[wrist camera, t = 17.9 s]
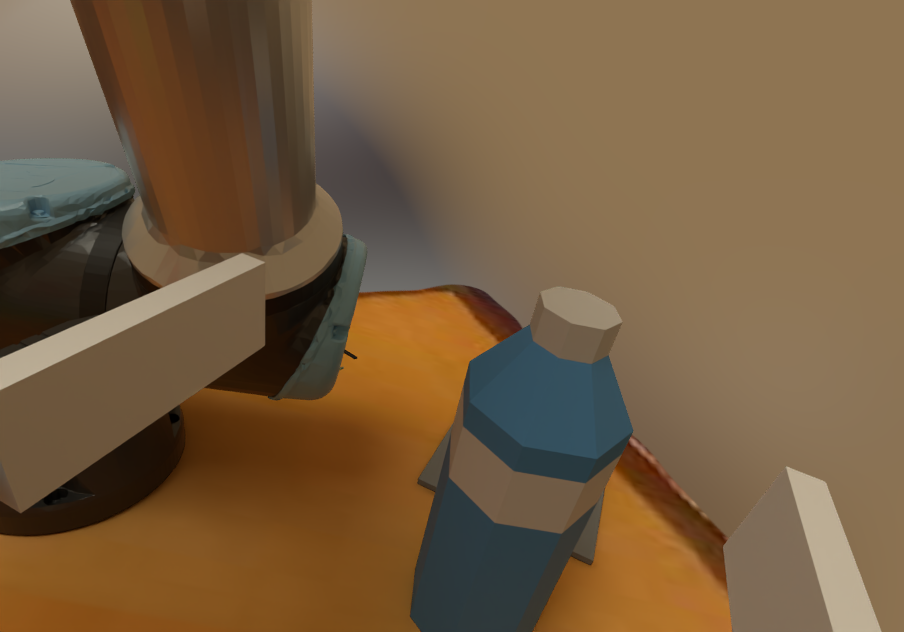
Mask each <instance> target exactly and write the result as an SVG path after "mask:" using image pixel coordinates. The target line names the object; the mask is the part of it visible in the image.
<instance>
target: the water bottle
mask: <svg viewBox="0 0 904 632" xmlns="http://www.w3.org/2000/svg"><path fill="white" fill-rule="evenodd" d="M621 325H622V320H621V318H620V316H619V315H618V313H617V311H616V309H615V307H614V306H613V305H611V304H609V303H607V302H605V301H604V300H602V299H600V298H598V297H596V296H594V295H593V294H591V293H589V292H585V291H580V290H575V289H570V288H565V287H560V286H558V287H555V288H551V289H548V290H545V291H542V292H540V295H539V298H538V301H537V304H536V307H535V310H534V313H533V316H532V319H531V323H530V325H528V326H527V327H525V328H523V329H522V330H520V331H518V332H517V333H515V334H514V335H512V336H510V337H509V338H507V339H505V340H504V341H502V342H500V343H499V344H497V345H496V346H494V347H492V348H491V349H489V350H487V351H486V352H484V353H482V354H481V355H479V356H478V357H476V358H474V359H473V360H471V361H470V362H469V366H468V370H467V374H466V378H465V381H464V385H463V389H462V393H461V397H460V400H459V404H458V408H457V412H456V416H455V420H454V423H453V427H452V431H451V435H450V439H449V442H448V446H447V450H446V454H445V458H444V461H443V465H442V469H441V473H440V477H439V480H438V484H437V488H436V492H435V496H434V499H433V503H432V507H431V511H430V515H429V518H428V522H427V526H426V530H425V534H424V537H423V541H422V545H421V549H420V553H419V556H418V560H417V564H416V568H415V576H414V586H413V595H412V605H411V614H410V617H411V618H412V620H413V621H414V622H415V624H416V625H417V626H418V628H419V629H420V630H421V632H532V631H533V629H534V627H535V625H536V623H537V621H538V619H539V617H540V615H541V613H542V611H543V609H544V607H545V605H546V603H547V601H548V599H549V597H550V595H551V593H552V591H553V589H554V587H555V585H556V583H557V581H558V579H559V577H560V575H561V573H562V571H563V569H564V567H565V565H566V564H567V562H568V560H569V558H570V556H571V554H572V552H573V550H574V548H575V546H576V544H577V542H578V540H579V538H580V536H581V534H582V532H583V530H584V528H585V526H586V524H587V522H588V520H589V518H590V516H591V514H592V512H593V510H594V508H595V506H596V504H597V502H598V500H599V498H600V496H601V494H602V492H603V490H604V488H605V486H606V484H607V482H608V480H609V478H610V476H611V474H612V472H613V470H614V468H615V466H616V464H617V463H618V461H619V459H620V457H621V455H622V453H623V451H624V449H625V447H626V445H627V443H628V441H629V439H630V437H631V435H632V433H633V428H632V425H631V422H630V419H629V416H628V413H627V410H626V407H625V404H624V401H623V398H622V395H621V392H620V389H619V386H618V383H617V380H616V377H615V374H614V371H613V368H612V364H611V362H610V359H609V353H610V350H611V348H612V346H613V343H614V341H615V338H616V336H617V334H618V332H619V329H620V327H621Z"/></svg>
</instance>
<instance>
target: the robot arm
mask: <svg viewBox="0 0 904 632" xmlns="http://www.w3.org/2000/svg"><path fill="white" fill-rule="evenodd" d="M70 1H71V4H72V7H73V9H74V12H75V15H76V18H77V20H78V23H79V26H80V29H81V32H82V35H83V37H84V40H85V43H86V46H87V49H88V51H89V54H90V57H91V60H92V62H93V65H94V68H95V71H96V74H97V76H98V79H99V82H100V85H101V88H102V90H103V93H104V96H105V98H106V102H107V104H108V107H109V110H110V113H111V116H112V118H113V121H114V124H115V127H116V130H117V132H118V135H119V138H120V141H121V143H122V146H123V149H124V152H125V155H126V157H127V160H128V163H129V166H130V169H131V171H132V174H133V177H134V180H135V183H136V185H137V188H138V191H139V193H140V195H139V196H138V197H137V198H136V199H135V200H134V199H133V195H134V193H135V187H134V185H133V184H131V182H130V179H129V176H128V175H127V173H126V172H124V171H123V170H122V169H120V168H116V167H115V166H114V165H112V164H108V163H104V162H99V161H92V160H83V159H67V158H66V159H64V158H62V159H61V158H40V159H19V160H7V161H0V533H4V534H12V535H39V534H48V533H56V532H61V531H66V530H71V529H75V528H78V527H82V526H85V525H88V524H92V523H94V522H97V521H100V520H102V519H105V518H107V517H110V516H112V515H114V514H116V513H118V512H120V511H122V510H124V509H126V508H128V507H130V506H131V505H133V504H135V503H136V502H138V501H139V500H141V499H142V498H144V497H145V496H146V495H148V494H149V493H150V492H152V491H153V490H154V489H155V488H156V487H158V486H159V485H160V484H161V483H162V482H163V481H164V480H165V479H166V478H167V477H168V475H169V474H170V473H171V472H172V470H173V469H174V468H175V466H176V465H177V463H178V461H179V459H180V457H181V455H182V452H183V449H184V445H185V429H184V419H183V413H182V410H181V407H180V405H179V404H181V403H182V402H184V401H185V400H187V399H188V398H189V397H191V396H192V395H194V394H195V393H197V392H198V391H200V390H201V389H203V388H210V389H217V390H225V391H232V392H240V393H248V394H255V395H263V396H268V398H269V399H272V400H280V399H282V398H288V399H301V400H316V399H319V398H322V397H324V396H325V395H327V394H328V393H329V392H330V391H331V390H332V388H333V386H334V384H335V382H336V379H337V376H338V372H339V369H340V365H341V361H342V358H343V354H344V350H345V346H346V342H347V337H348V331H349V329H350V325H351V321H352V317H353V314H354V310H355V306H356V302H357V298H358V294H359V290H360V285H361V280H362V276H363V272H364V267H365V263H366V257H367V247H366V245H365V244H364V243H363V242H362V241H360V240H358V239H355V238H353V237H352V236H351V235H347V234H343V227H342V218H341V214H340V212H339V209H338V207H337V206H336V204H335V202H334V201H333V199H332V198H331V197H330V196H329V195H328V193H327V192H325V190H323V189H322V188H321V187H320V186H319V185H317V184H316V180H315V136H314V135H315V133H314V91H313V90H314V89H313V88H314V86H313V40H312V0H70ZM723 550H724V559H725V568H726V577H727V586H728V595H729V605H730V614H731V623H732V632H881V629H880V627H879V624H878V621H877V619H876V616H875V613H874V611H873V608H872V605H871V602H870V600H869V597H868V595H867V592H866V589H865V586H864V584H863V582H862V578H861V576H860V573H859V570H858V568H857V565H856V562H855V560H854V557H853V554H852V552H851V549H850V547H849V544H848V541H847V538H846V536H845V533H844V530H843V528H842V525H841V522H840V520H839V517H838V514H837V511H836V509H835V506H834V503H833V501H832V498H831V495H830V493H829V490H828V487H827V485H826V482H825V481H822V480H819V479H817V478H814V477H812V476H809V475H807V474H804V473H801V472H799V471H796V470H794V469H791V468H789V467H785V468H784V469H783V470H782V472H781V473H780V474H779V475H778V477H777V478H776V479H775V481H774V482H773V483H772V485H771V486H770V487H769V488H768V490H767V491H766V492H765V494H764V495H763V496H762V497H761V498H760V500H759V501H758V502H757V504H756V505H755V506H754V508H753V509H752V510H751V511H750V513H749V514H748V515H747V517H746V518H745V519H744V520H743V521H742V523H741V524H740V525H739V527H738V528H737V529H736V531H735V532H734V533H733V534H732V536H731V537H730V538H729V539H728V541H727V542H726V543H725V545H724V546H723Z"/></svg>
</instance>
